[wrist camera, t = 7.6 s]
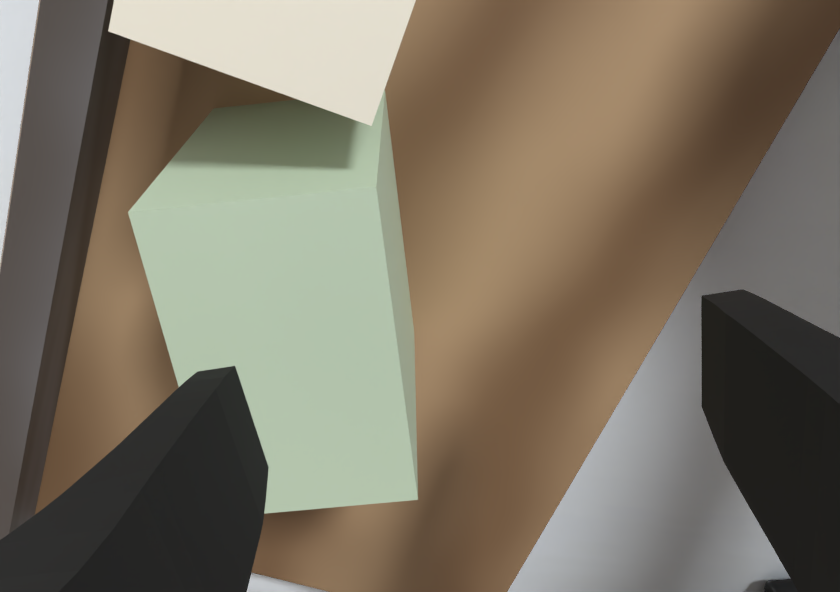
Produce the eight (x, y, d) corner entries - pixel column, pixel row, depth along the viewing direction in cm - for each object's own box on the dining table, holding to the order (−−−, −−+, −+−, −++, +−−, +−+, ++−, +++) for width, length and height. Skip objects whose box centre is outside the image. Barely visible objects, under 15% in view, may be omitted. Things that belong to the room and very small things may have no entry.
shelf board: (891, -127, 18) (1001, -128, 15) (480, 594, 28) (490, 689, 25) (174, -471, 15) (110, -568, 12) (8, 473, 25) (-51, 561, 22)
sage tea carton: (384, 90, 18) (376, 186, 13) (414, 332, 21) (417, 499, 16) (207, 109, 19) (118, 212, 13) (261, 347, 22) (209, 518, 16)
